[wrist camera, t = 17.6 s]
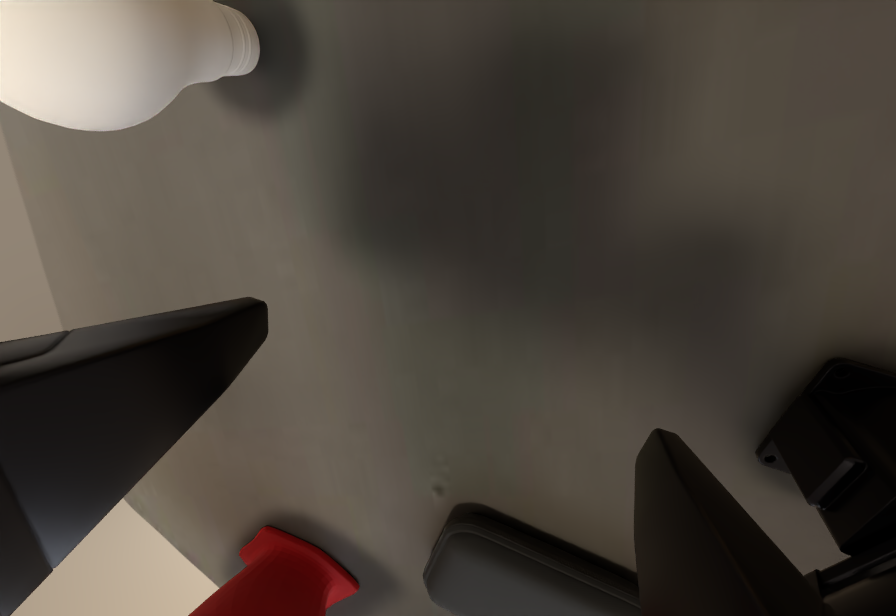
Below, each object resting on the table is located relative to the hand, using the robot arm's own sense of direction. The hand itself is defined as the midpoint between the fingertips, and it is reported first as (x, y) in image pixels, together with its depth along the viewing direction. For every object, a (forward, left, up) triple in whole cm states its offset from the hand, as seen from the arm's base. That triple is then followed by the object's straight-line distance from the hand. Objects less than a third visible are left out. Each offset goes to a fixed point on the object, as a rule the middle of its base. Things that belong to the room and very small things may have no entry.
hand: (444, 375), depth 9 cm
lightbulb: (+14, -5, -12) cm, 19 cm away
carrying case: (-8, +25, -12) cm, 29 cm away
